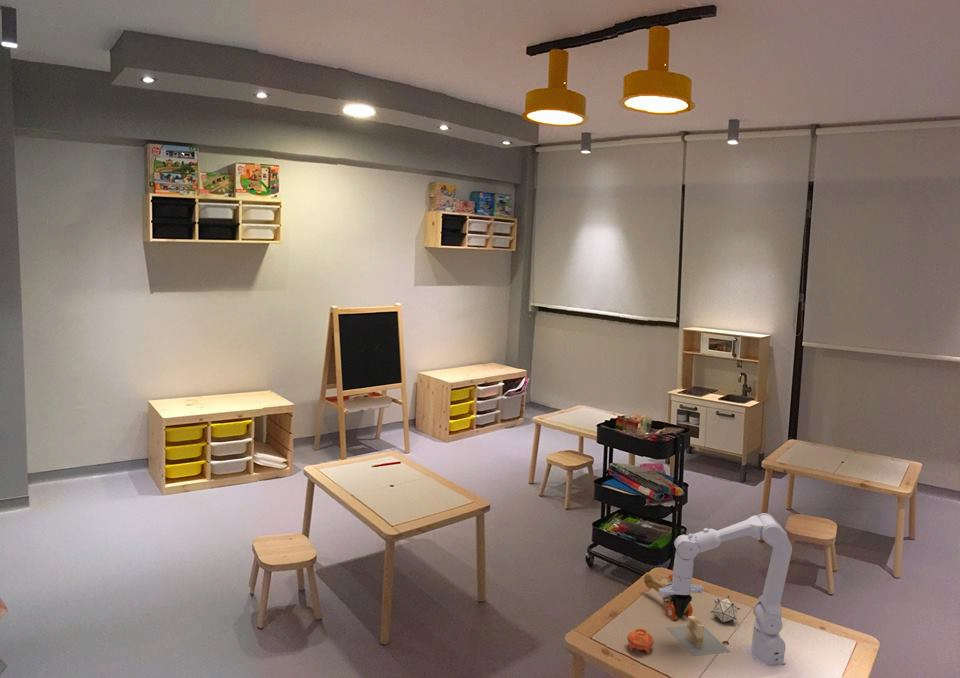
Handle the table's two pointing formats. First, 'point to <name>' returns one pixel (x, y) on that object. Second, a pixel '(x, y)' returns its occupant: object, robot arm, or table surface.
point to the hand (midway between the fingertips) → (678, 615)
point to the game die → (725, 610)
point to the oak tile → (695, 631)
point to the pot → (640, 640)
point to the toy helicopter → (667, 600)
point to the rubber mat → (709, 642)
